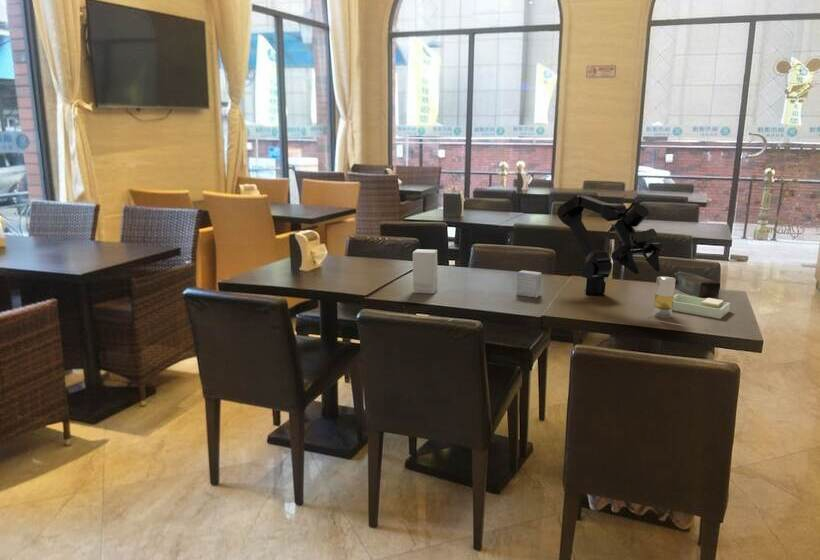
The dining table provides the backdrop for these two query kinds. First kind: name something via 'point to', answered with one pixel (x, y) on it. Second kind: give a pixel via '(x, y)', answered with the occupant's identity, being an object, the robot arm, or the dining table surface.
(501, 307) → the dining table surface
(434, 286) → the skincare box
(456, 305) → the dining table surface
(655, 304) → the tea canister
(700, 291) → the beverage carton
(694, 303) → the tote
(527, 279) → the medicine box
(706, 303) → the butter box
